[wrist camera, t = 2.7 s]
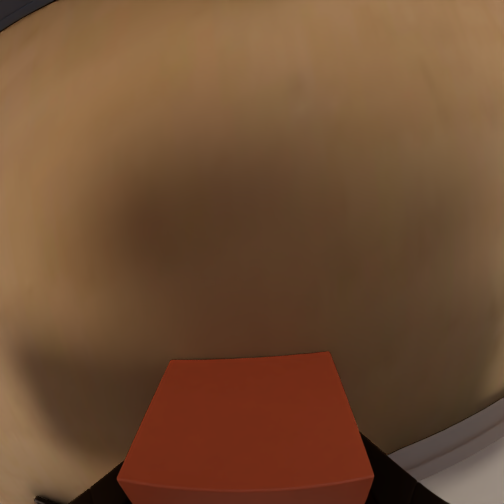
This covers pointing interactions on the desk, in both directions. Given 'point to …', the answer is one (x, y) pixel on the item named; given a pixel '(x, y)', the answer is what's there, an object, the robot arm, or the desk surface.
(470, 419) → the grey flat slab
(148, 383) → the desk surface
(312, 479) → the terracotta block
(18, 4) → the slate-blue tray
